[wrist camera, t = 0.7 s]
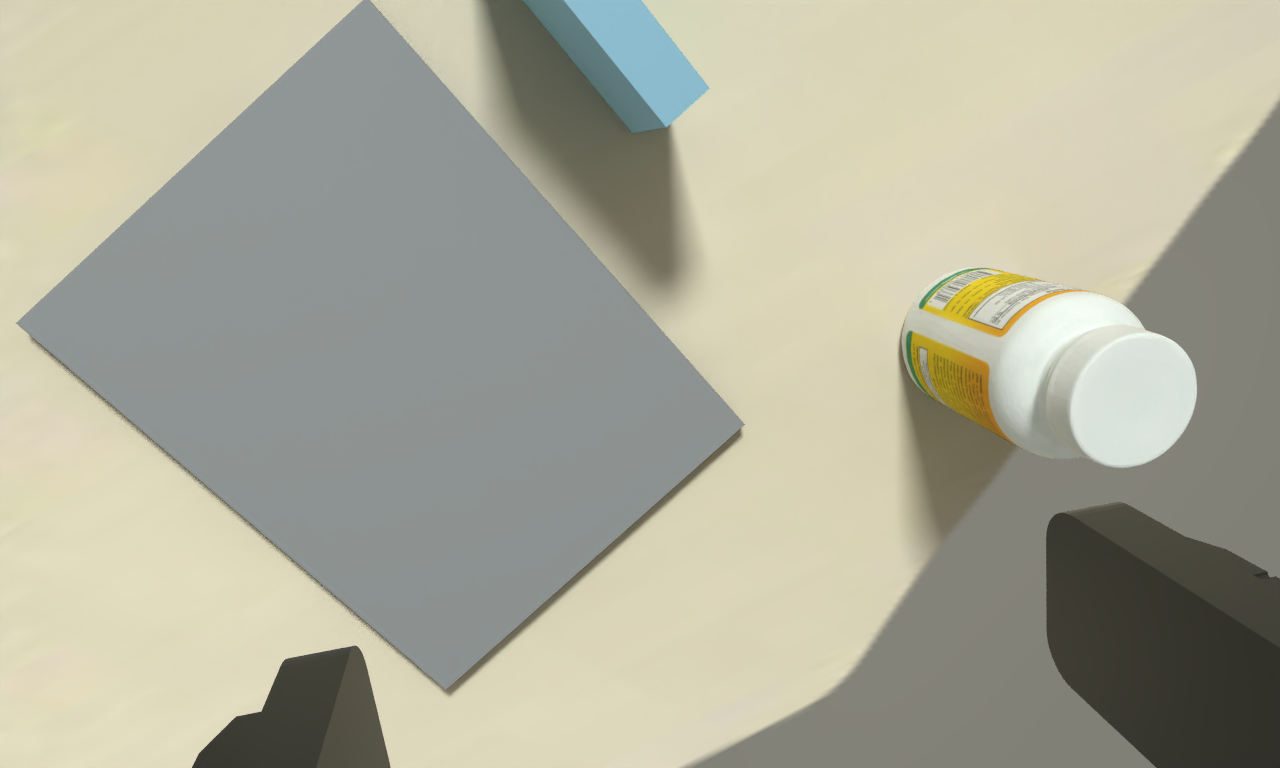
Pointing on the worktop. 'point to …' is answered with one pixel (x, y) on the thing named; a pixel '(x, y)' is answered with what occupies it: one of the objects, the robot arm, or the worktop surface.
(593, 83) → the block
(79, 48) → the worktop surface
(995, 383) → the supplement bottle
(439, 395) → the mat
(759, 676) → the worktop surface
